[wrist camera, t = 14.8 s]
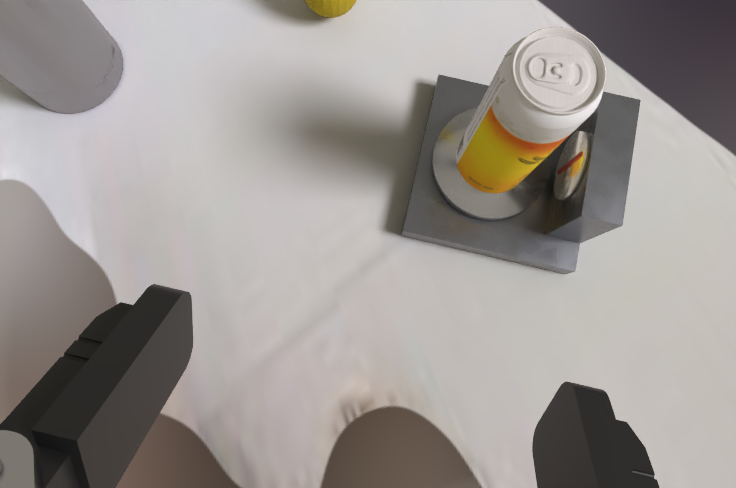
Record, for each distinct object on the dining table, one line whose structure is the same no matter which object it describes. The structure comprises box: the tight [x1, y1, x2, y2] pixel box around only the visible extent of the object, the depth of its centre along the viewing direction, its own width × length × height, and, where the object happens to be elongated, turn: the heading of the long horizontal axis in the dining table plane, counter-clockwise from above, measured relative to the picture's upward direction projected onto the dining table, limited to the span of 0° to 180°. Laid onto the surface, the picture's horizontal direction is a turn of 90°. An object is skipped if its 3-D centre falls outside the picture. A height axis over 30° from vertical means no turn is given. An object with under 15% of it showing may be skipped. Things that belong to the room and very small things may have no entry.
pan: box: [432, 107, 550, 220], centre depth 43 cm, size 10×10×1 cm
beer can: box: [456, 27, 606, 194], centre depth 35 cm, size 6×6×15 cm
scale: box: [401, 75, 640, 274], centre depth 41 cm, size 15×15×9 cm
